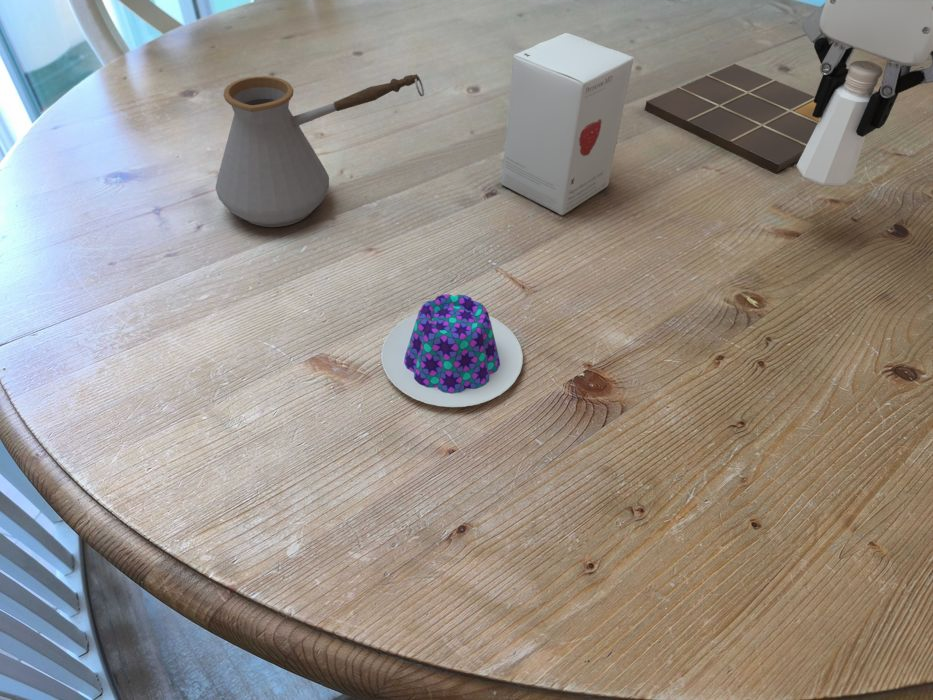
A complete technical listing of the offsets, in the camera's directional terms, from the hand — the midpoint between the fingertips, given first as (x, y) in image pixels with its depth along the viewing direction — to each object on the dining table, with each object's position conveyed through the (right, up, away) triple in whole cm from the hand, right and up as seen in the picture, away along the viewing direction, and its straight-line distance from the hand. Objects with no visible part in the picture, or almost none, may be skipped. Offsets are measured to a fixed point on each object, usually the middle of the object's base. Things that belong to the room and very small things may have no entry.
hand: (845, 120), depth 71 cm
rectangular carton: (-26, -3, +14) cm, 30 cm away
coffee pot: (-51, -7, +9) cm, 52 cm away
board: (+2, +9, +27) cm, 29 cm away
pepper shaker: (0, -4, +4) cm, 6 cm away
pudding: (-37, -23, -7) cm, 44 cm away
